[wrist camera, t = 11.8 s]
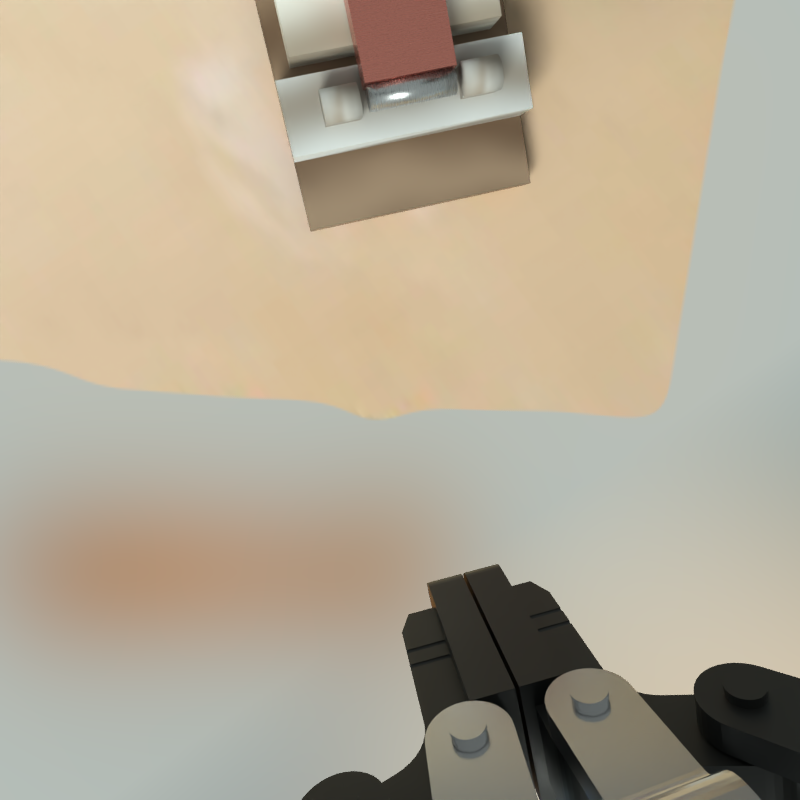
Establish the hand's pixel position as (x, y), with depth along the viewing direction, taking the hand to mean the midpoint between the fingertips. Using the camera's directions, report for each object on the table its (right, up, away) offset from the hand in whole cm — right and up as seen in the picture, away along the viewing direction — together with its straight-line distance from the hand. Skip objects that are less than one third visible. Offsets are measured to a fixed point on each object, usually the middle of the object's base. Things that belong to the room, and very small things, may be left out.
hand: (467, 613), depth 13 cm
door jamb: (-2, +26, +25) cm, 37 cm away
